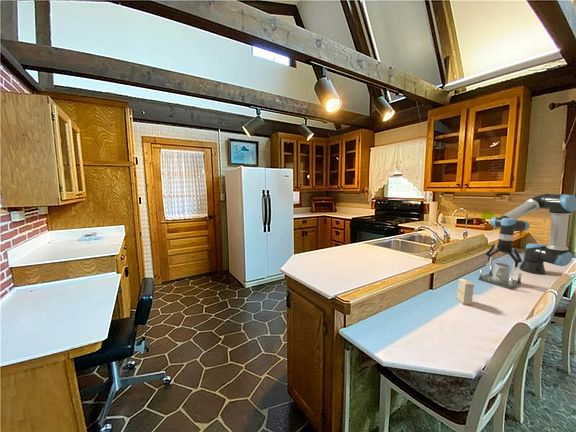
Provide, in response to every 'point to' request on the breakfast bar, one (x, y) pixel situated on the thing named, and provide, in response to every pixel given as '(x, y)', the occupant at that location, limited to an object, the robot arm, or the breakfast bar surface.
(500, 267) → the mug
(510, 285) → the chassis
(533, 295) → the breakfast bar surface
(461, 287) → the supplement box
